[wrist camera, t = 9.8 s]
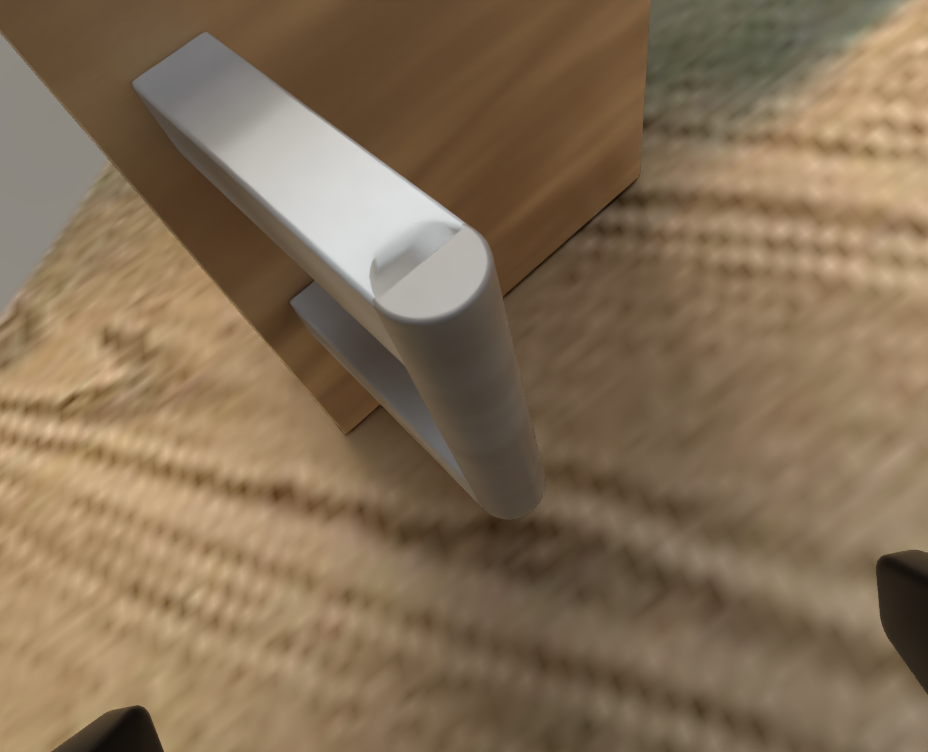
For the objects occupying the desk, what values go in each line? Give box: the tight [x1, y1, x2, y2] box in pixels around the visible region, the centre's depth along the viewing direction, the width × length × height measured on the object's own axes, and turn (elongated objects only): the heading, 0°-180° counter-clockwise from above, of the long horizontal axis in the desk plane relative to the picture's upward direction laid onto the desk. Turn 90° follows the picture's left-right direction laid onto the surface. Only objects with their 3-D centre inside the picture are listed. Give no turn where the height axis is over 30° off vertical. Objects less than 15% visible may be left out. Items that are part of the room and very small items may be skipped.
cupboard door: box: [0, 0, 650, 519], centre depth 14 cm, size 8×13×13 cm, turn 132°
